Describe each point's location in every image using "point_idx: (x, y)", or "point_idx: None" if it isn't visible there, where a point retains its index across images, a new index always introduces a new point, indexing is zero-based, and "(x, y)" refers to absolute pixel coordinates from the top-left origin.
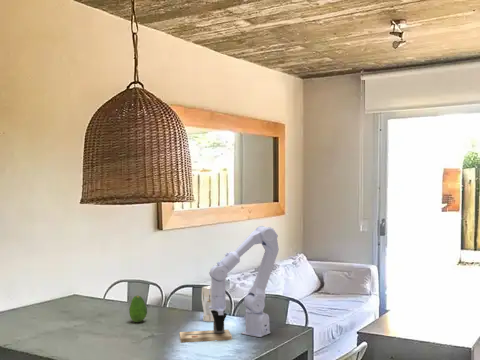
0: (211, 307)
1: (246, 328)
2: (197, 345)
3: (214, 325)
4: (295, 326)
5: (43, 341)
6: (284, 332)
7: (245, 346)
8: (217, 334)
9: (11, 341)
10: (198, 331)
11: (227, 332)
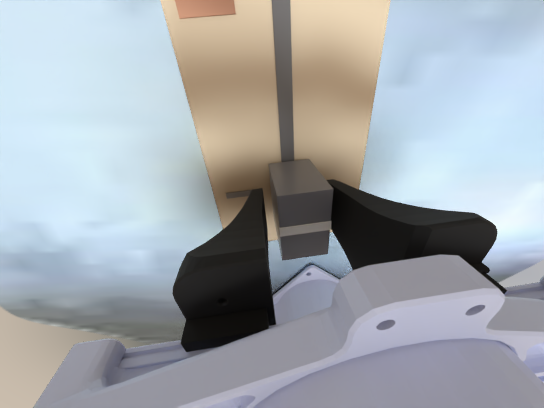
0: (342, 349)
1: (308, 299)
2: (56, 16)
3: (275, 188)
4: None
5: None
6: None
7: (124, 279)
8: (260, 180)
9: None
10: (373, 31)
11: None
